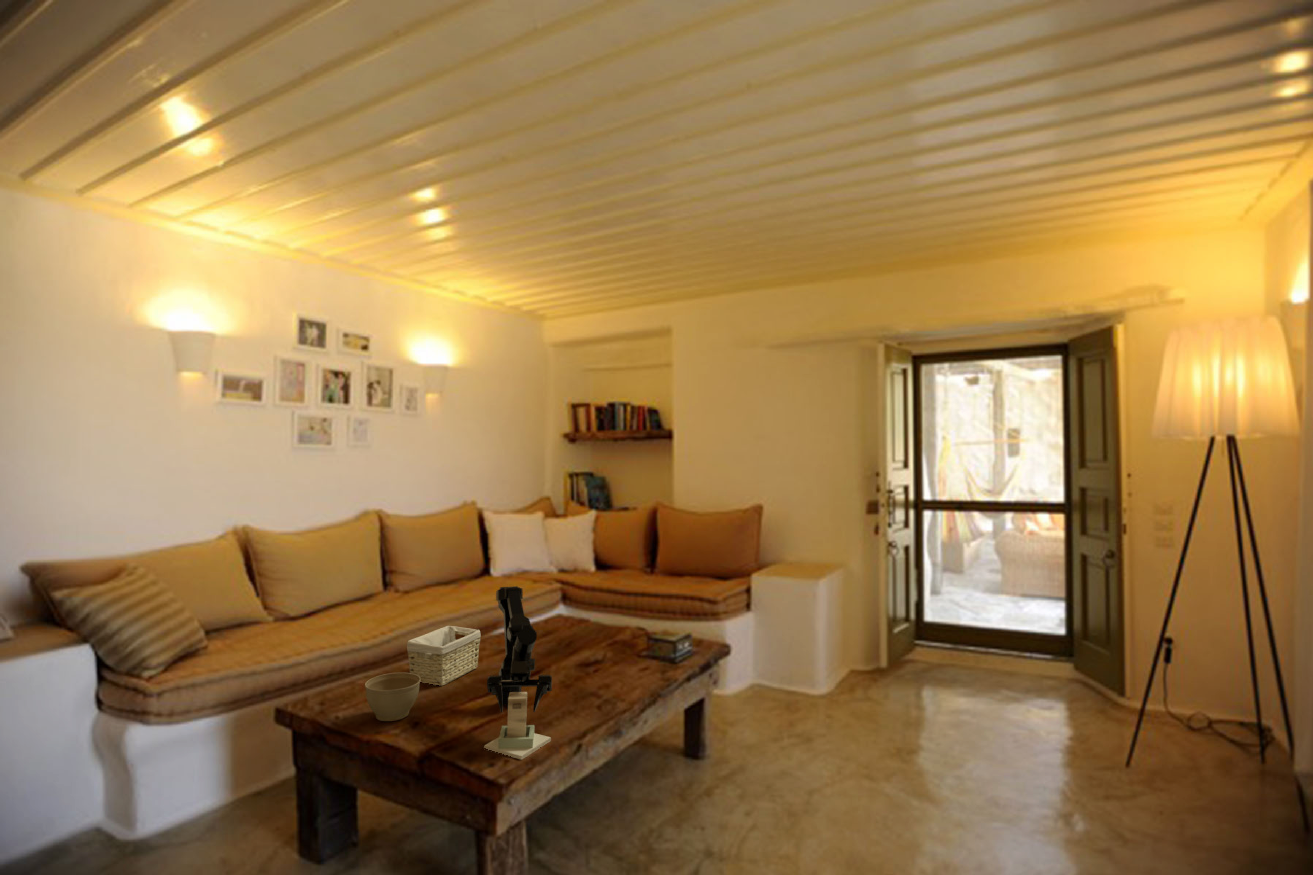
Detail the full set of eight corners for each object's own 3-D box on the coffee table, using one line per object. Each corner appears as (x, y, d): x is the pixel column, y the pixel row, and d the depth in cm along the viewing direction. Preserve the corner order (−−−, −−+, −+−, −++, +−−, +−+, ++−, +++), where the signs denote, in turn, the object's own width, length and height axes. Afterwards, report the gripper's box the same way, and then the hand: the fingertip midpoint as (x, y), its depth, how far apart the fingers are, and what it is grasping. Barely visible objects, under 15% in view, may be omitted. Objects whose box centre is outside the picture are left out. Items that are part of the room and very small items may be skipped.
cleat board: (513, 730, 202) (513, 719, 202) (550, 740, 196) (551, 728, 196) (482, 748, 190) (483, 736, 190) (521, 759, 184) (521, 746, 184)
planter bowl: (402, 701, 222) (403, 668, 222) (429, 715, 212) (430, 680, 212) (354, 716, 210) (355, 680, 210) (380, 731, 199) (382, 694, 200)
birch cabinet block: (508, 737, 195) (509, 692, 195) (525, 736, 196) (527, 691, 196) (506, 746, 189) (508, 699, 190) (524, 745, 190) (526, 699, 190)
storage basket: (440, 688, 235) (442, 646, 235) (403, 681, 241) (404, 640, 241) (481, 668, 257) (483, 629, 258) (446, 662, 263) (447, 624, 263)
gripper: (488, 648, 199) (482, 700, 188) (552, 647, 202) (550, 699, 191) (490, 666, 207) (485, 717, 196) (552, 665, 209) (550, 715, 198)
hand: (517, 711), depth 195 cm, fingers open, 9 cm apart
